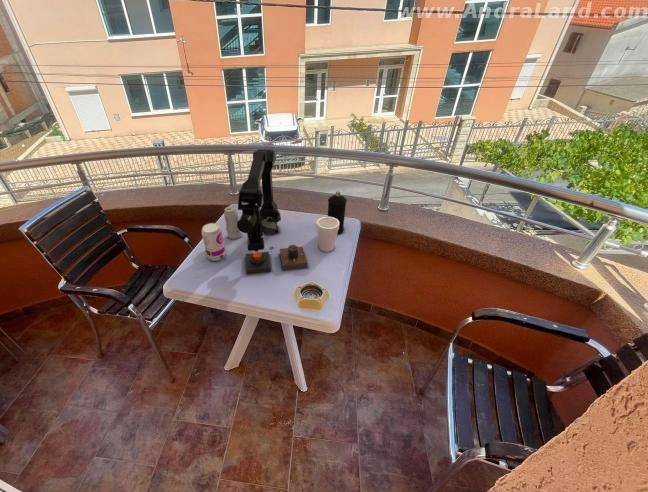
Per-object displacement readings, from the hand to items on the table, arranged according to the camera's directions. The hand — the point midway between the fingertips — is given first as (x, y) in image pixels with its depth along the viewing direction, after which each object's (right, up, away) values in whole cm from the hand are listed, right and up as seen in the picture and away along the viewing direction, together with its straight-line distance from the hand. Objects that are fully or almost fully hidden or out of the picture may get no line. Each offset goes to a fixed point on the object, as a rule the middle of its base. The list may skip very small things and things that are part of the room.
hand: (256, 251), depth 131 cm
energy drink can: (-12, +8, +22) cm, 26 cm away
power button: (0, -3, +2) cm, 4 cm away
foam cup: (+31, +2, +11) cm, 33 cm away
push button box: (0, -5, +5) cm, 7 cm away
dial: (+15, -2, +3) cm, 16 cm away
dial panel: (+15, -4, +5) cm, 17 cm away
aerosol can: (+36, +11, +22) cm, 44 cm away
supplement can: (-18, -2, +11) cm, 22 cm away
